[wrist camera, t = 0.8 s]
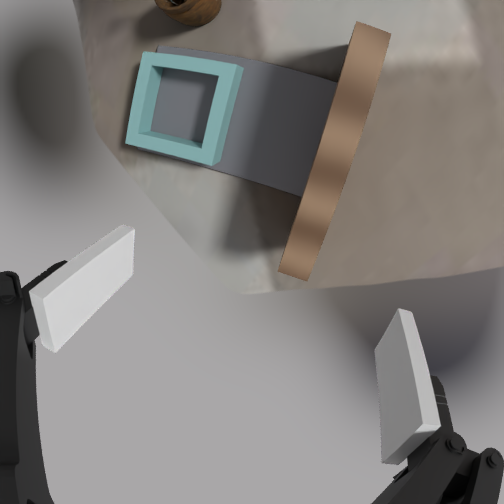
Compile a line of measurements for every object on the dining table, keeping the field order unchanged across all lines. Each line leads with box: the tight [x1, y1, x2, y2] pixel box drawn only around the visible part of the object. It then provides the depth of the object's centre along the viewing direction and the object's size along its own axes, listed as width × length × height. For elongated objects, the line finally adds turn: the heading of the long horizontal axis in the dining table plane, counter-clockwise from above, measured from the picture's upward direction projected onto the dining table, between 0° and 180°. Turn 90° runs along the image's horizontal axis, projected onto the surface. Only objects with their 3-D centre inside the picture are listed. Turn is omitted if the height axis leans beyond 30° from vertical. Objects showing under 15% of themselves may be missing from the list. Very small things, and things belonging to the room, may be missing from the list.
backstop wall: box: [278, 21, 391, 281], centre depth 30 cm, size 24×3×10 cm, turn 165°
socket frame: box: [125, 52, 244, 166], centre depth 34 cm, size 12×12×3 cm
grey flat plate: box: [137, 46, 337, 197], centre depth 35 cm, size 14×22×1 cm, turn 75°
